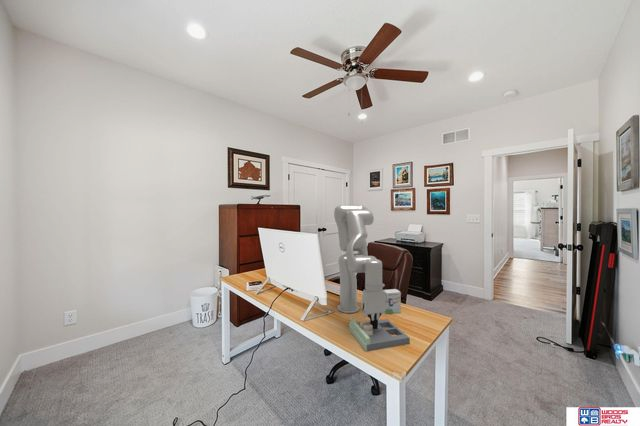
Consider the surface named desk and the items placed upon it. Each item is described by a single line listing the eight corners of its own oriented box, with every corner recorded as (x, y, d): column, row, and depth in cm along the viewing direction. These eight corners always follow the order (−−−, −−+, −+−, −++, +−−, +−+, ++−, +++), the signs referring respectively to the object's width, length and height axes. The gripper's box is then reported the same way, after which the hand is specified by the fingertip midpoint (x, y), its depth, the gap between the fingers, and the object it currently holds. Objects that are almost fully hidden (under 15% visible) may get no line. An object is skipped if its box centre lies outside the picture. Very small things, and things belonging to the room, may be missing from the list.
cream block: (360, 331, 106) (360, 322, 106) (368, 330, 107) (368, 321, 107) (364, 336, 102) (364, 327, 102) (372, 334, 103) (372, 325, 103)
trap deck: (348, 329, 113) (348, 319, 113) (387, 323, 118) (387, 313, 118) (365, 351, 95) (365, 338, 95) (409, 343, 100) (409, 331, 100)
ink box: (396, 309, 135) (396, 288, 135) (401, 312, 130) (401, 291, 130) (382, 310, 134) (382, 289, 134) (386, 314, 129) (386, 292, 128)
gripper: (384, 283, 111) (384, 322, 111) (354, 286, 107) (355, 326, 107) (393, 288, 104) (393, 329, 104) (362, 291, 100) (362, 334, 100)
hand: (374, 327), depth 106 cm, fingers closed
